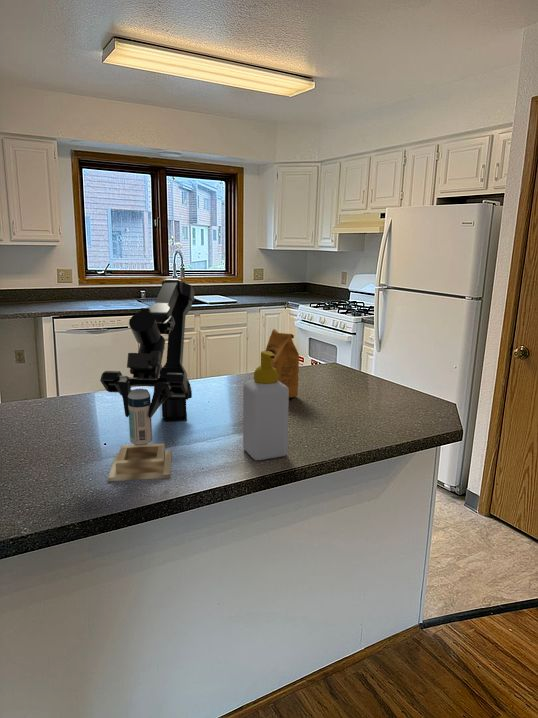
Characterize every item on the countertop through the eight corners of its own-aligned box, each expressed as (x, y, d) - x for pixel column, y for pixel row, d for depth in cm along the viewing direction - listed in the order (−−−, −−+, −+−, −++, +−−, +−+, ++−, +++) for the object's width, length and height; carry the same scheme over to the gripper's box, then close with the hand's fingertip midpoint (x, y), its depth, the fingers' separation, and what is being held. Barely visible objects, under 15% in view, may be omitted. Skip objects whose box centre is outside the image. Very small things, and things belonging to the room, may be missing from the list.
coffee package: (282, 389, 177) (284, 327, 172) (301, 398, 166) (303, 333, 161) (257, 392, 172) (258, 329, 167) (275, 402, 162) (277, 335, 157)
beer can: (156, 440, 115) (154, 389, 112) (143, 448, 110) (141, 395, 107) (139, 436, 116) (136, 387, 113) (125, 444, 112) (122, 392, 109)
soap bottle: (254, 462, 117) (255, 357, 112) (241, 448, 125) (241, 349, 120) (289, 456, 121) (292, 354, 115) (274, 443, 129) (275, 347, 123)
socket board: (171, 453, 122) (171, 440, 121) (170, 477, 109) (169, 463, 108) (116, 456, 120) (115, 443, 119) (108, 481, 107) (107, 466, 106)
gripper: (100, 336, 112) (83, 398, 104) (183, 338, 111) (173, 401, 103) (114, 361, 122) (100, 421, 113) (191, 363, 121) (182, 423, 113)
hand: (138, 416), depth 110 cm, fingers closed on beer can, 5 cm apart
